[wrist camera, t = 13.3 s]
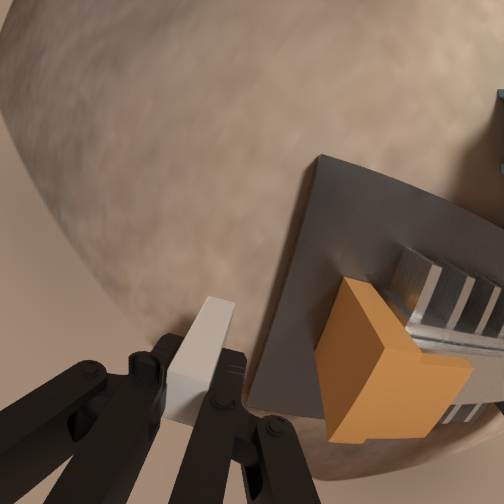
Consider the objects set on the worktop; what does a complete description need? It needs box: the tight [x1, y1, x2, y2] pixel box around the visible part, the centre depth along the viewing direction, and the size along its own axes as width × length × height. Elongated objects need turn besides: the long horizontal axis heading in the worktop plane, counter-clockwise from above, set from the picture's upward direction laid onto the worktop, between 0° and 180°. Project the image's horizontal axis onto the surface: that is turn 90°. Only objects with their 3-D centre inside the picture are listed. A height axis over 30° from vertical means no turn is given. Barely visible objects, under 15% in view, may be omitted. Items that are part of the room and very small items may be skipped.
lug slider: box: [314, 277, 474, 444], centre depth 15 cm, size 6×6×8 cm
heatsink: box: [245, 154, 504, 424], centre depth 16 cm, size 20×28×8 cm
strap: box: [412, 338, 504, 405], centre depth 13 cm, size 6×20×2 cm, turn 76°
